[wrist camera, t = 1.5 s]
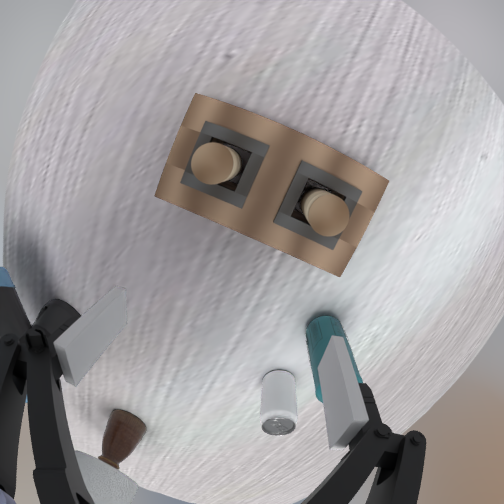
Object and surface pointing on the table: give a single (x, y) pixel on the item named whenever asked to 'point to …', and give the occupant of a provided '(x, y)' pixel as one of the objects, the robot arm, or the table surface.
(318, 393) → the beverage bottle
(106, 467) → the lamp
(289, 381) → the can
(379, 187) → the walnut block
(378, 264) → the table surface
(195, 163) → the peg
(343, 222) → the peg
